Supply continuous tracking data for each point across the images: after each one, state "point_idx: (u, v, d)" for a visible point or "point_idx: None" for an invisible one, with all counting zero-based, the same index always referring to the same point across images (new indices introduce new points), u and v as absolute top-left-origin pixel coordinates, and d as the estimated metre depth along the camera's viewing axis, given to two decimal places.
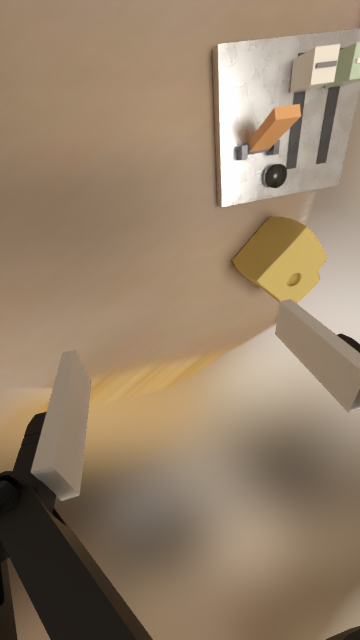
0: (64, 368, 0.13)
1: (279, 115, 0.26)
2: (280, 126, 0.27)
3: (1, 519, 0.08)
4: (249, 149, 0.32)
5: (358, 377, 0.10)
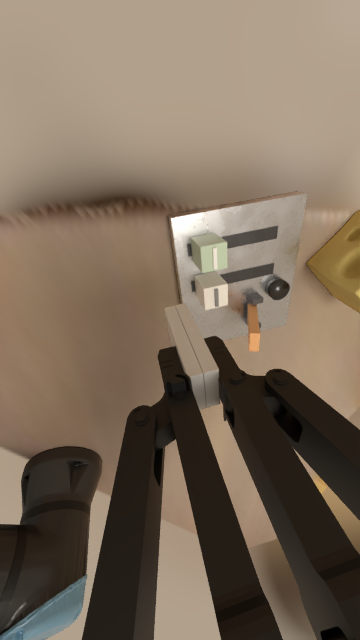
0: (172, 317, 0.15)
1: (255, 348, 0.31)
2: None
3: (172, 402, 0.10)
4: None
5: None
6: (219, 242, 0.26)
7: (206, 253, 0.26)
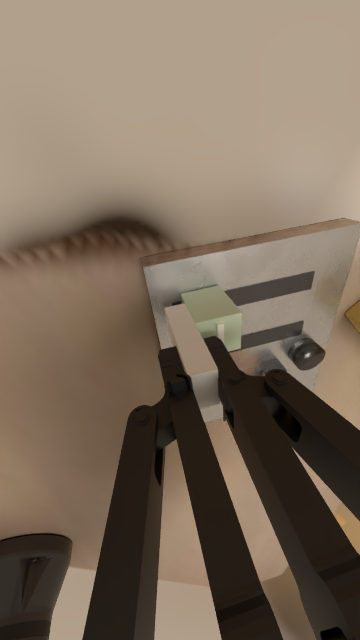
0: (173, 317, 0.15)
1: None
2: None
3: (173, 402, 0.10)
4: None
5: None
6: (228, 312, 0.15)
7: (206, 331, 0.15)
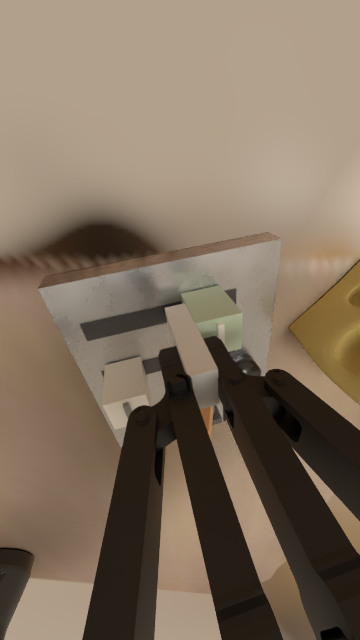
0: (173, 317, 0.15)
1: None
2: None
3: (173, 402, 0.10)
4: None
5: None
6: (228, 312, 0.15)
7: (206, 331, 0.15)
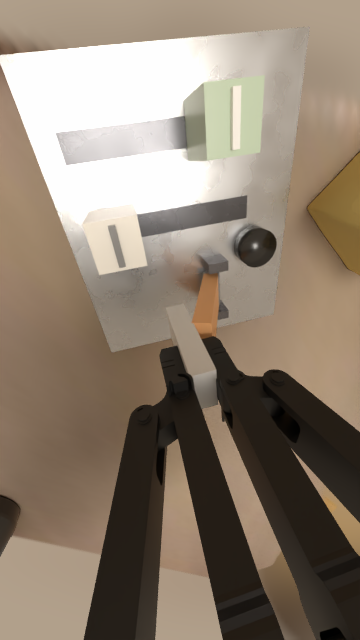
0: (174, 317, 0.15)
1: None
2: (214, 329, 0.16)
3: (175, 401, 0.10)
4: None
5: None
6: (246, 78, 0.11)
7: (217, 103, 0.11)
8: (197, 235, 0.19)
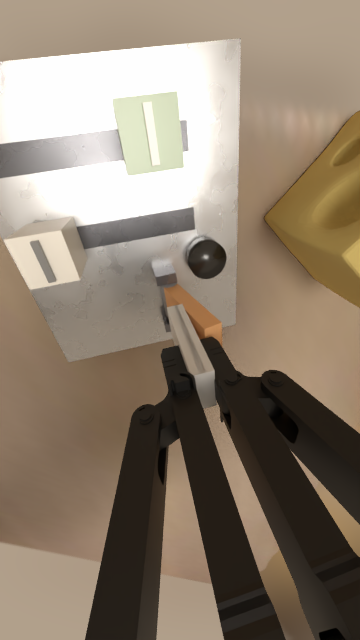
0: (175, 316, 0.15)
1: None
2: None
3: (176, 401, 0.10)
4: None
5: None
6: (160, 94, 0.11)
7: (130, 119, 0.11)
8: (145, 246, 0.19)
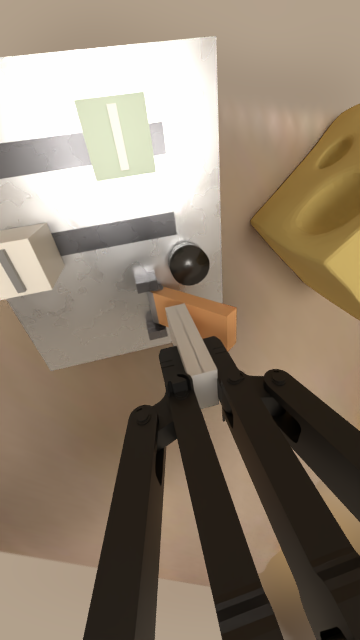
0: (173, 317, 0.15)
1: (233, 340, 0.17)
2: None
3: (174, 401, 0.10)
4: None
5: None
6: (126, 95, 0.11)
7: (94, 122, 0.11)
8: (125, 253, 0.18)
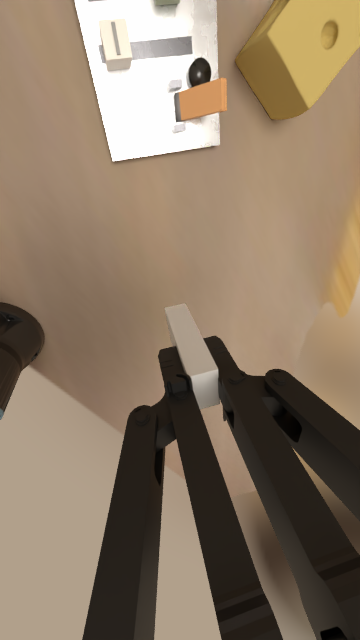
0: (173, 317, 0.15)
1: (225, 105, 0.31)
2: None
3: (173, 402, 0.10)
4: None
5: None
6: None
7: None
8: (163, 64, 0.32)
